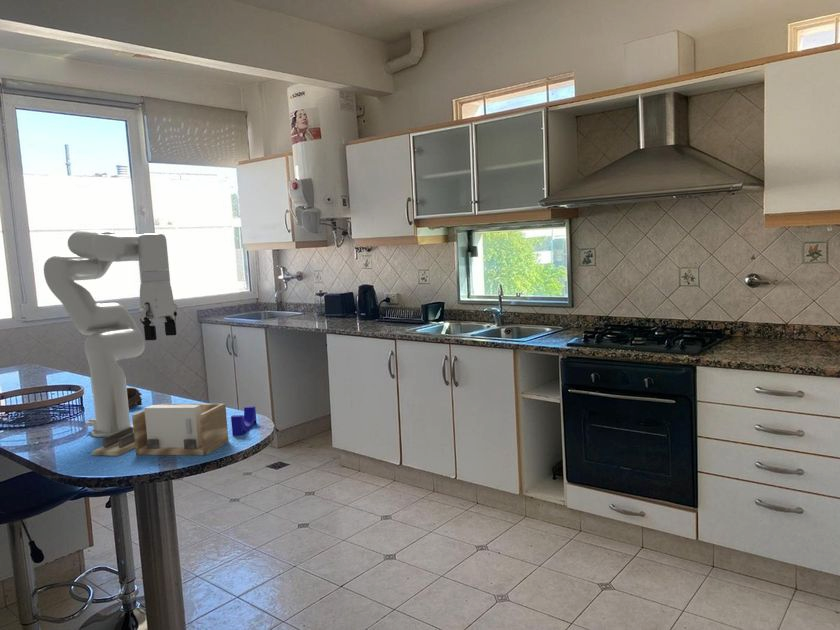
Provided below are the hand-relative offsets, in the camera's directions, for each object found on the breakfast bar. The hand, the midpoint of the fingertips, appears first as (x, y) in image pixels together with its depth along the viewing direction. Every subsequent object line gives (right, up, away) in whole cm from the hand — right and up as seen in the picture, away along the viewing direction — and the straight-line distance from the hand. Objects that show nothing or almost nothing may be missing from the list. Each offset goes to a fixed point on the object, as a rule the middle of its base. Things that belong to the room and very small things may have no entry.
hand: (161, 337), depth 180 cm
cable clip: (+20, -29, +11) cm, 37 cm away
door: (+7, -29, -7) cm, 31 cm away
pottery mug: (-33, -28, +51) cm, 67 cm away
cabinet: (+8, -31, -4) cm, 32 cm away
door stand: (-10, -31, +1) cm, 33 cm away
